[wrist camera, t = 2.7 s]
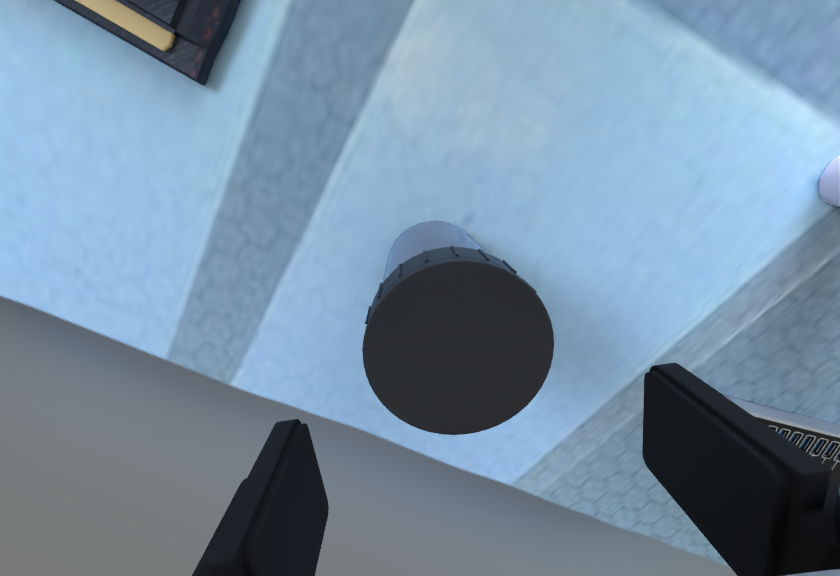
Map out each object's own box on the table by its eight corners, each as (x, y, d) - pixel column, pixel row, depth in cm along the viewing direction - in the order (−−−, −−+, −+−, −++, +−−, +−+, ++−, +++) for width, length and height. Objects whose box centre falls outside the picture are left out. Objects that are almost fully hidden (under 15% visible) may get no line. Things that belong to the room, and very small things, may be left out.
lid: (335, 296, 17) (323, 319, 14) (491, 213, 16) (507, 221, 13) (417, 424, 19) (419, 463, 16) (558, 356, 18) (583, 386, 15)
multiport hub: (820, 468, 34) (848, 488, 32) (675, 433, 32) (695, 453, 30) (849, 427, 33) (880, 445, 31) (700, 389, 31) (723, 406, 29)
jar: (368, 250, 27) (338, 316, 15) (455, 202, 26) (498, 231, 14) (414, 328, 29) (422, 445, 17) (496, 286, 28) (567, 376, 16)
